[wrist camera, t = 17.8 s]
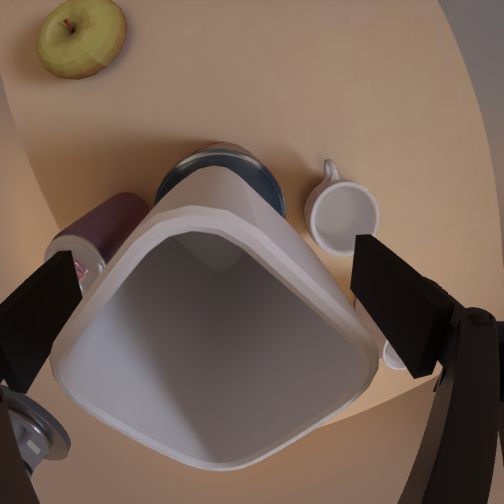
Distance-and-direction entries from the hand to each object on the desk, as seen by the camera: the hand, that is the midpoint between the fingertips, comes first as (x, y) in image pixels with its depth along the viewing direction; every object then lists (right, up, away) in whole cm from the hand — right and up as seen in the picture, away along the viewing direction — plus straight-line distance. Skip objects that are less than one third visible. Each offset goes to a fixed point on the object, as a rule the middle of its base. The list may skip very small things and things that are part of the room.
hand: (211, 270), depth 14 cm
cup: (0, +3, +7) cm, 8 cm away
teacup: (+10, +7, +22) cm, 25 cm away
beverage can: (-12, +5, +21) cm, 25 cm away
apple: (-16, +24, +13) cm, 32 cm away
